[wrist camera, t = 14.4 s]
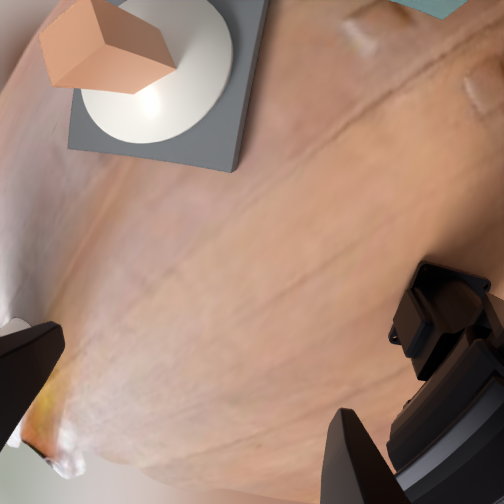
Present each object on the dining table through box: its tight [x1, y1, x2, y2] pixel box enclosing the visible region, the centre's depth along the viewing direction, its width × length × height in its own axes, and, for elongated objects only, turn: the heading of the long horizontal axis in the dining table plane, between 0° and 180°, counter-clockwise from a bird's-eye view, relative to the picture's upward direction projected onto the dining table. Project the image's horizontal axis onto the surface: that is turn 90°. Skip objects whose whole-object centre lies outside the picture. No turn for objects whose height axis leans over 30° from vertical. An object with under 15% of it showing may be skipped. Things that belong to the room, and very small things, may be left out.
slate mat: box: [68, 0, 269, 173], centre depth 17 cm, size 12×12×2 cm
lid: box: [38, 0, 234, 143], centre depth 13 cm, size 10×10×8 cm
